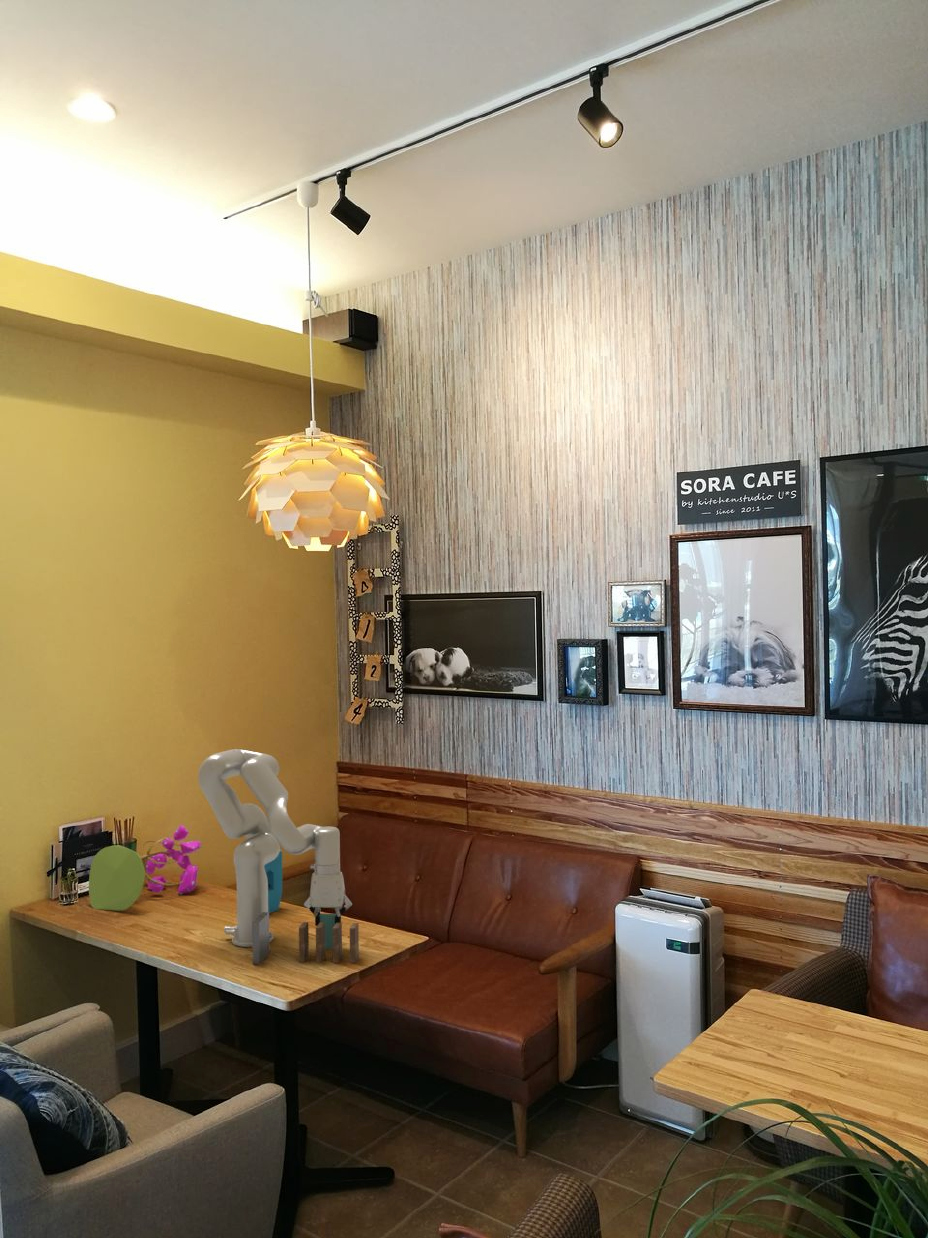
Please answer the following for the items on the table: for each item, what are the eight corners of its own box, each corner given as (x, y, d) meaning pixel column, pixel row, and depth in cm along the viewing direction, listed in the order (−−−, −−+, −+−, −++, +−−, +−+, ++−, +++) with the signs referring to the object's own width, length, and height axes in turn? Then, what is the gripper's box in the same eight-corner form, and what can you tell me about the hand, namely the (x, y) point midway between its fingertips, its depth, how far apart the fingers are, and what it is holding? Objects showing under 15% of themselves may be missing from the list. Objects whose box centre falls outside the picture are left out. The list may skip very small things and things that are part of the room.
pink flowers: (95, 818, 338) (170, 815, 368) (73, 895, 338) (149, 885, 368) (150, 849, 323) (224, 843, 353) (127, 930, 323) (202, 917, 353)
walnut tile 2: (333, 962, 276) (332, 928, 276) (336, 956, 281) (336, 922, 281) (338, 962, 276) (338, 928, 276) (342, 956, 281) (341, 922, 281)
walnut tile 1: (350, 963, 276) (349, 928, 276) (353, 957, 281) (353, 923, 281) (355, 963, 275) (355, 928, 275) (358, 957, 280) (358, 923, 280)
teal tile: (336, 948, 288) (335, 915, 288) (319, 948, 288) (319, 915, 288) (337, 946, 289) (336, 914, 289) (320, 946, 290) (320, 913, 290)
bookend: (252, 964, 275) (252, 922, 275) (263, 952, 285) (262, 912, 285) (259, 964, 275) (259, 922, 275) (269, 952, 285) (269, 912, 285)
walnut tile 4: (299, 962, 277) (298, 927, 277) (303, 956, 282) (303, 922, 282) (304, 962, 277) (304, 927, 277) (308, 956, 282) (308, 922, 282)
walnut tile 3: (316, 962, 276) (315, 927, 276) (320, 956, 281) (319, 922, 281) (321, 962, 276) (321, 928, 276) (325, 956, 281) (325, 922, 281)
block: (255, 917, 320) (254, 857, 320) (246, 914, 323) (245, 855, 323) (283, 908, 329) (283, 850, 329) (274, 906, 332) (274, 848, 332)
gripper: (296, 871, 286) (297, 932, 286) (352, 872, 284) (353, 933, 284) (303, 865, 293) (303, 924, 293) (357, 865, 292) (358, 925, 292)
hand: (328, 928), depth 289 cm, fingers closed on teal tile, 4 cm apart
